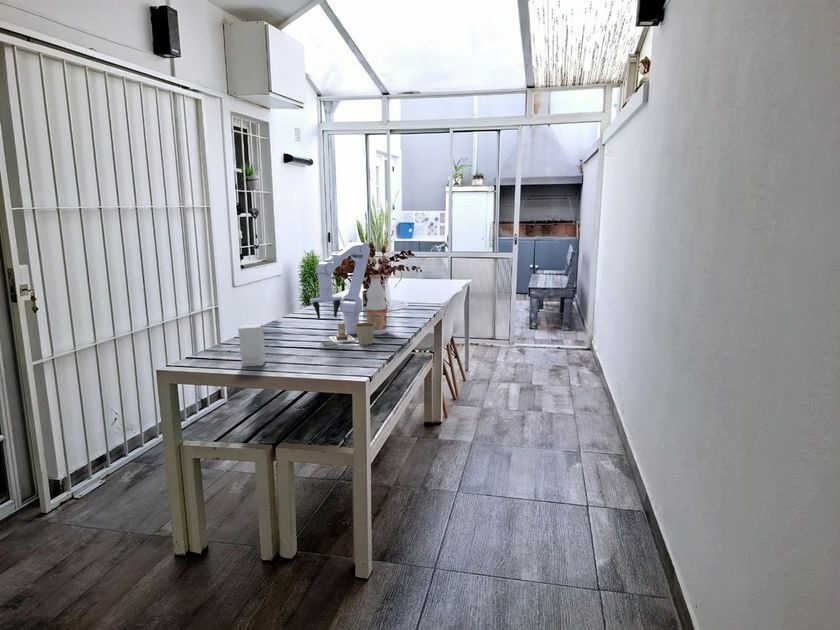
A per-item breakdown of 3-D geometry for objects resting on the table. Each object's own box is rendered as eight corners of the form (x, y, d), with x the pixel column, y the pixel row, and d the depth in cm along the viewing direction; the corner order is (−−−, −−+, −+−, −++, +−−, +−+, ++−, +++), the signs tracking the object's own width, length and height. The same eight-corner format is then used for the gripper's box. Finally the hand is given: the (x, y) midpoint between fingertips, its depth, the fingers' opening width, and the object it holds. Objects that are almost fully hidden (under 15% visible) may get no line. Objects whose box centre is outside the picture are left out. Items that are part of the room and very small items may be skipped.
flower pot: (356, 346, 249) (356, 327, 247) (353, 341, 258) (352, 323, 256) (377, 345, 251) (377, 326, 250) (373, 340, 260) (373, 321, 259)
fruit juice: (363, 332, 276) (362, 275, 271) (380, 329, 281) (379, 273, 276) (373, 335, 269) (371, 277, 263) (390, 333, 274) (389, 275, 268)
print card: (328, 337, 265) (328, 336, 265) (349, 335, 269) (349, 334, 269) (334, 343, 255) (334, 341, 255) (355, 341, 259) (355, 339, 259)
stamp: (336, 337, 264) (335, 322, 263) (347, 336, 265) (346, 322, 263) (336, 339, 259) (336, 324, 258) (347, 339, 260) (347, 324, 259)
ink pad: (320, 345, 252) (320, 342, 252) (335, 343, 255) (335, 340, 255) (323, 348, 246) (323, 345, 246) (338, 346, 249) (338, 344, 249)
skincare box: (266, 361, 227) (263, 323, 224) (262, 366, 221) (259, 327, 218) (245, 362, 227) (242, 324, 224) (240, 366, 220) (237, 327, 217)
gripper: (311, 290, 251) (313, 320, 254) (343, 288, 257) (344, 317, 259) (308, 288, 258) (310, 317, 260) (339, 286, 263) (340, 315, 266)
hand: (327, 317), depth 260 cm, fingers open, 7 cm apart
